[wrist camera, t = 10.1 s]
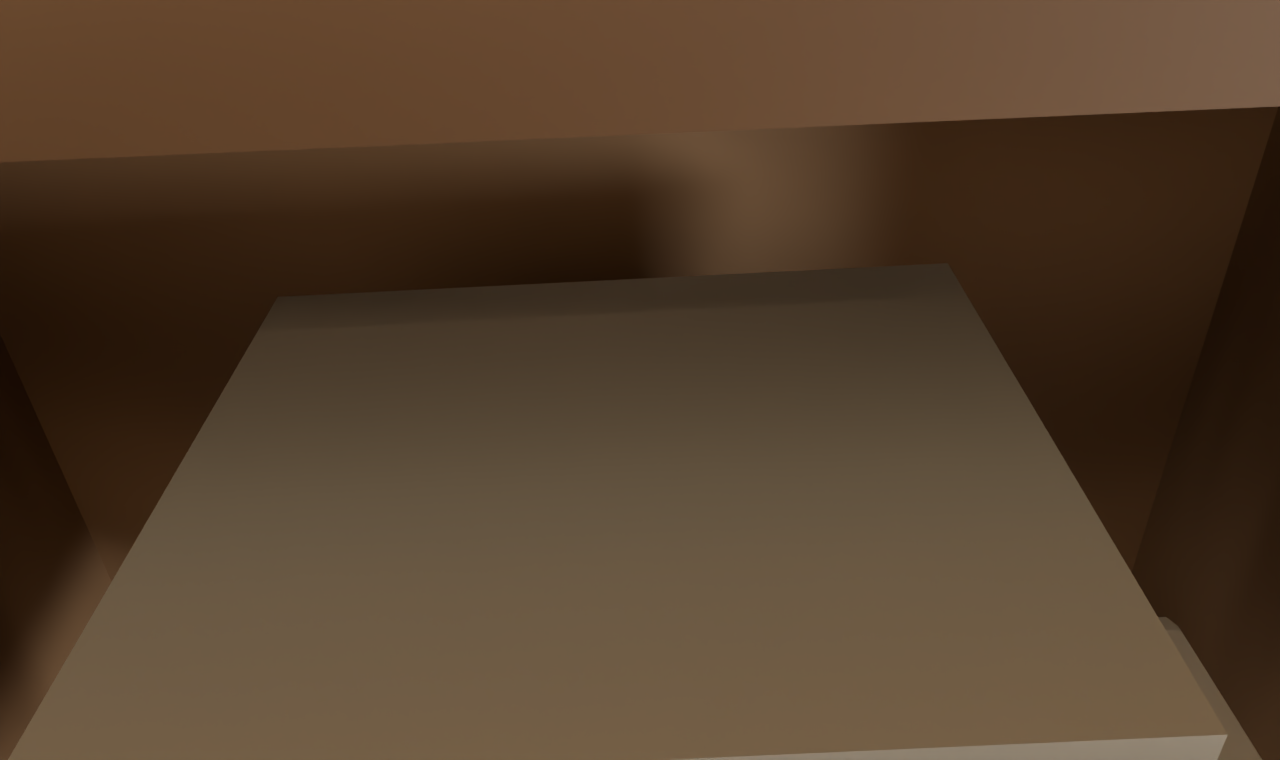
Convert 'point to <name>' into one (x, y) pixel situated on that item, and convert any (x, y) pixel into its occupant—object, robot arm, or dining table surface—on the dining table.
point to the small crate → (626, 543)
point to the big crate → (649, 232)
